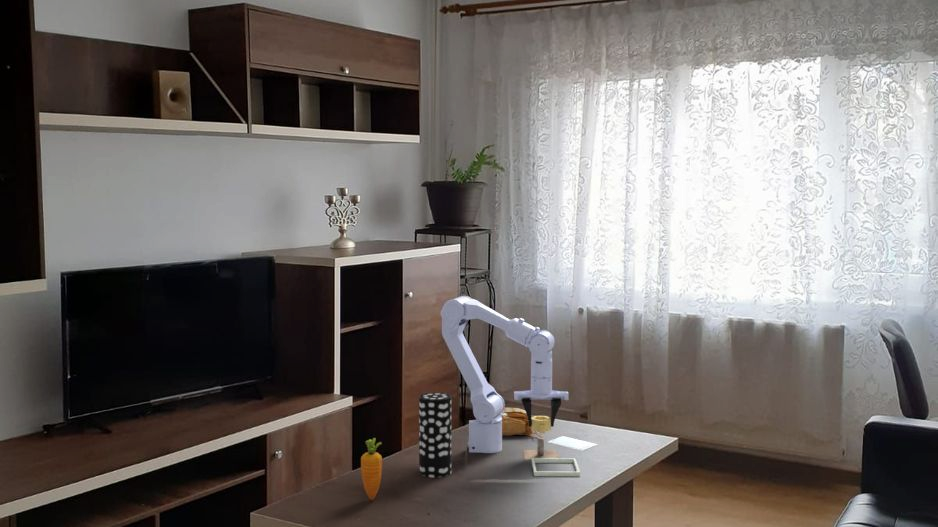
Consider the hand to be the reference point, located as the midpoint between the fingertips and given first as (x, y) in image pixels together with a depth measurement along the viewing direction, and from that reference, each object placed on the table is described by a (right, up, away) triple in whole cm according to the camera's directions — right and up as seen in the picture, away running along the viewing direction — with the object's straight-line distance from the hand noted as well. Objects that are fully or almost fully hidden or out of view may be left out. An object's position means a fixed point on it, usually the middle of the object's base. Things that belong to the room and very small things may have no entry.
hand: (540, 425), depth 252 cm
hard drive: (+10, -9, +12) cm, 18 cm away
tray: (+3, -10, -11) cm, 15 cm away
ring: (0, -1, 0) cm, 1 cm away
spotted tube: (-28, -10, -12) cm, 32 cm away
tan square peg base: (0, -9, +1) cm, 9 cm away
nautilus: (-6, -7, +21) cm, 23 cm away
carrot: (-42, -12, -32) cm, 55 cm away
